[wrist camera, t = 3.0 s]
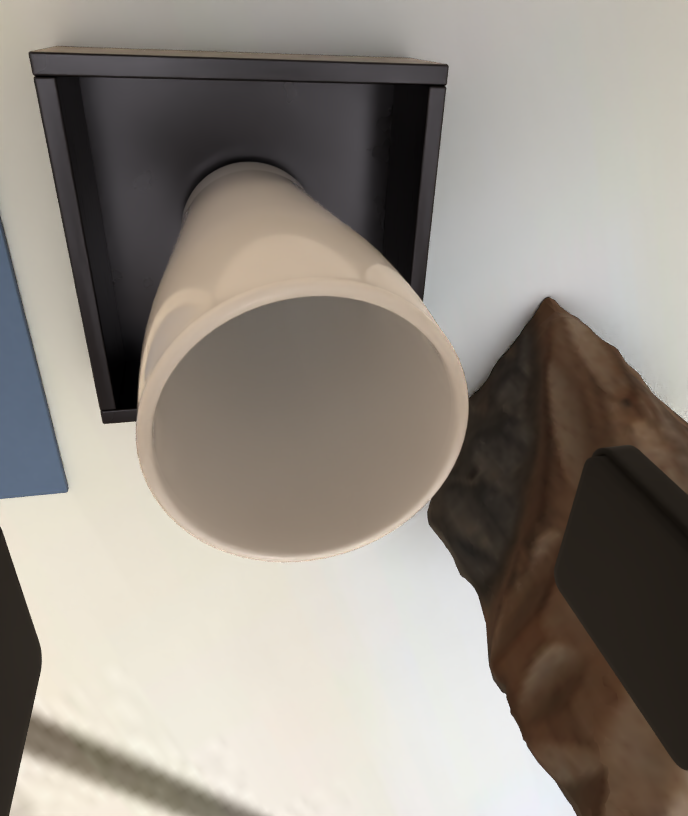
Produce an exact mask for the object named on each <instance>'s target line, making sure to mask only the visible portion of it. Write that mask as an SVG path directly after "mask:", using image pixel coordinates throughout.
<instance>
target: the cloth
mask: <svg viewBox="0 0 688 816" xmlns="http://www.w3.org/2000/svg"><path fill="white" fill-rule="evenodd" d="M68 489H69V488H68V484H67V481H66V477H65V473H64V469H63V465H62V461H61V457H60V453H59V449H58V445H57V441H56V437H55V433H54V429H53V425H52V421H51V417H50V413H49V409H48V405H47V401H46V397H45V393H44V389H43V385H42V381H41V377H40V373H39V369H38V365H37V361H36V357H35V353H34V349H33V345H32V341H31V337H30V333H29V329H28V325H27V321H26V317H25V313H24V309H23V305H22V301H21V298H20V294H19V290H18V286H17V282H16V278H15V274H14V270H13V266H12V262H11V258H10V254H9V250H8V246H7V242H6V238H5V234H4V230H3V226H2V222H1V218H0V499H5V498H15V497H25V496H35V495H46V494H56V493H66V492H68Z"/></svg>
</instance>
